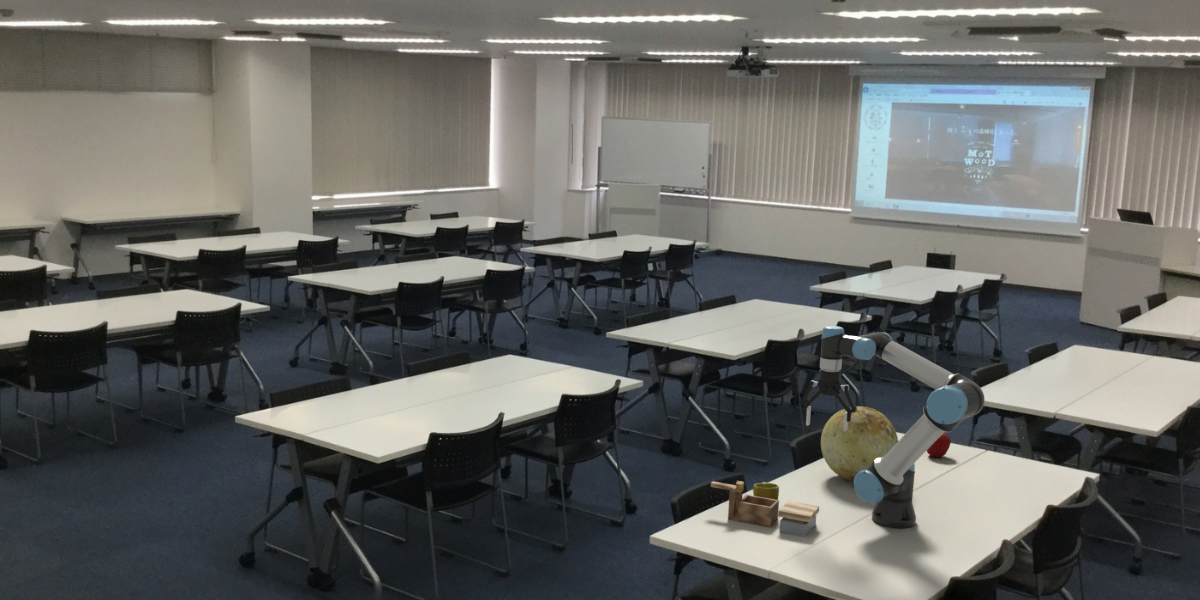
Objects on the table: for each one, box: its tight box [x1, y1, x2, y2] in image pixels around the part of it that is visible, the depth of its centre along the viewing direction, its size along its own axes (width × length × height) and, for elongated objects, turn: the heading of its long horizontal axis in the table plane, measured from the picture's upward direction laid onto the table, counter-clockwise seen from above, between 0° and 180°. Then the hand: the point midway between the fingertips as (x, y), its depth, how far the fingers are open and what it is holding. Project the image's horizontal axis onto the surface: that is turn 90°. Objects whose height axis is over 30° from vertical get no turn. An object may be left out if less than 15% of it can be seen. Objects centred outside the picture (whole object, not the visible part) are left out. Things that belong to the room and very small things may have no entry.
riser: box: [779, 515, 817, 538], centre depth 360 cm, size 9×14×4 cm, turn 154°
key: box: [710, 480, 745, 493], centre depth 370 cm, size 12×3×3 cm, turn 64°
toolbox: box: [727, 480, 780, 528], centre depth 367 cm, size 16×9×12 cm, turn 64°
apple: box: [926, 432, 952, 458], centre depth 451 cm, size 11×11×12 cm
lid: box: [778, 500, 820, 523], centre depth 360 cm, size 12×11×3 cm
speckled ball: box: [820, 405, 899, 482], centre depth 414 cm, size 30×30×30 cm
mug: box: [752, 481, 780, 500], centre depth 382 cm, size 12×10×10 cm
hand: (826, 427), depth 372 cm, fingers open, 13 cm apart
